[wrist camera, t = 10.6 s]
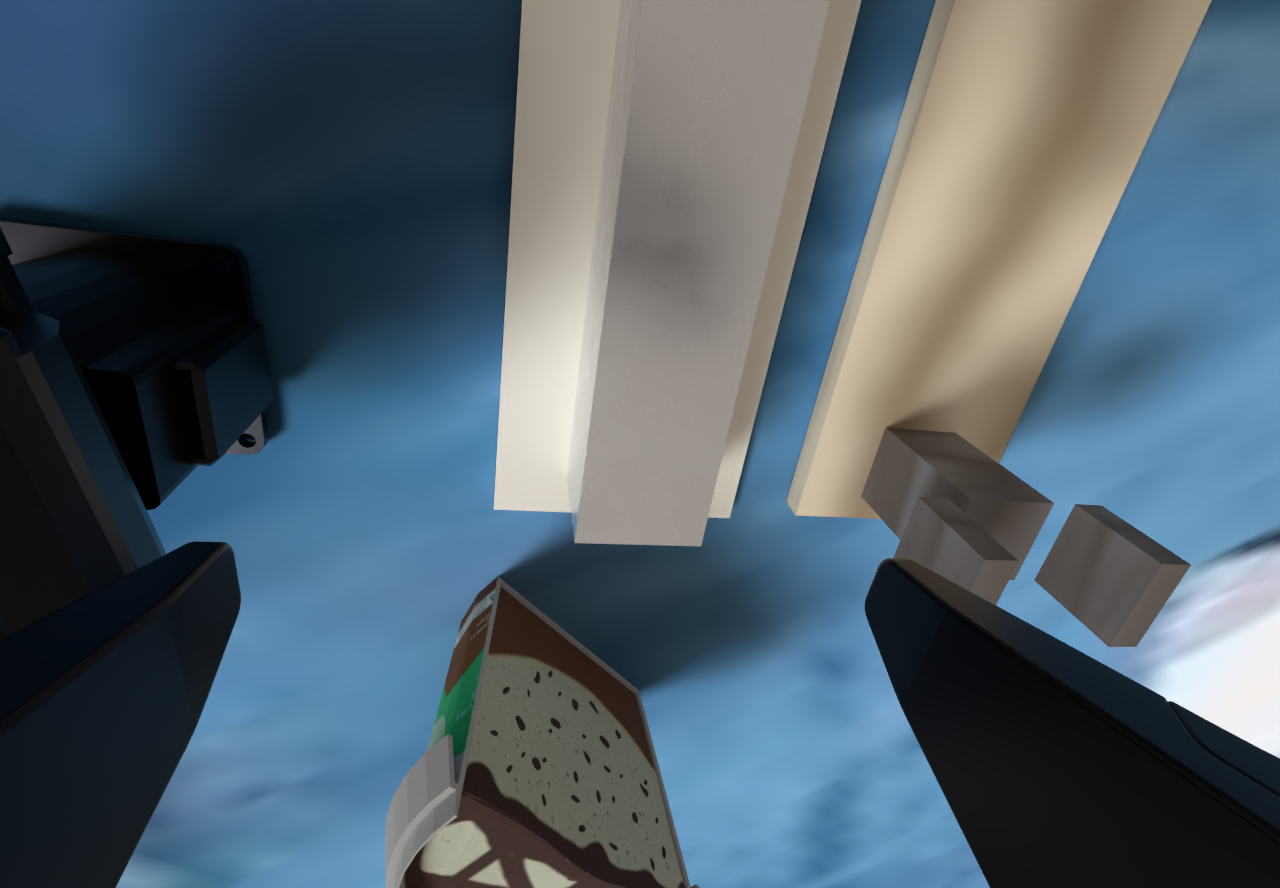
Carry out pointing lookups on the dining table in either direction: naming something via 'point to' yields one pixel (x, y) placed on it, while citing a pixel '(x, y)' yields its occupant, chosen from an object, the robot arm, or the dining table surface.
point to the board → (564, 233)
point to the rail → (681, 253)
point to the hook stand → (993, 295)
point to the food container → (532, 768)
